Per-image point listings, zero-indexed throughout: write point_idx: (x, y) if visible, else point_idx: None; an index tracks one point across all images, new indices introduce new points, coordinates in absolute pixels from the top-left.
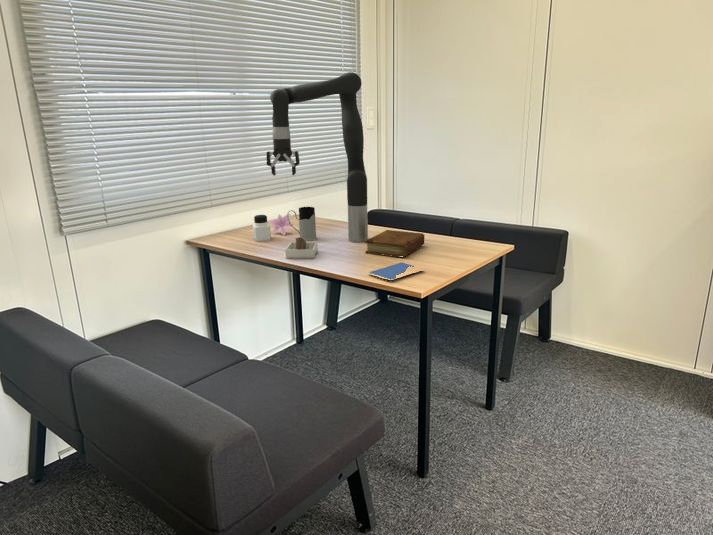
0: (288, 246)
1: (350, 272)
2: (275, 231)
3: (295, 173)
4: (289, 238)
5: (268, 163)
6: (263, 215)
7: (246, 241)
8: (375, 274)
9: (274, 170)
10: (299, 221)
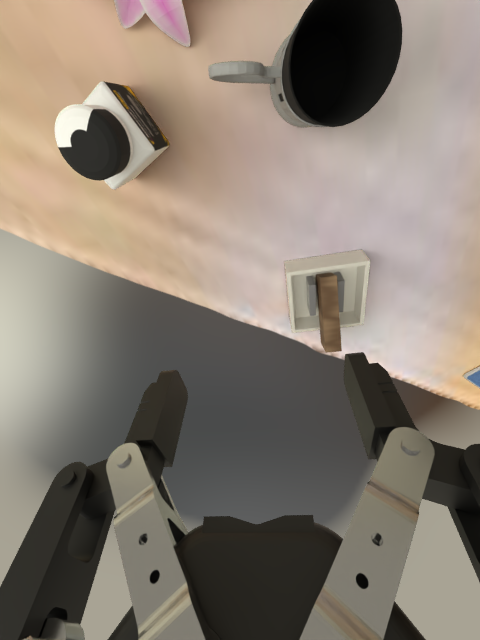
0: (292, 310)
1: (430, 371)
2: (129, 15)
3: (377, 367)
4: (227, 91)
5: (104, 515)
6: (101, 146)
7: None
8: (475, 384)
9: (178, 432)
10: (286, 105)
